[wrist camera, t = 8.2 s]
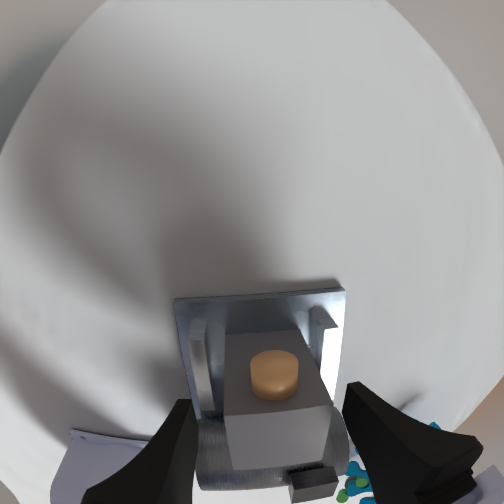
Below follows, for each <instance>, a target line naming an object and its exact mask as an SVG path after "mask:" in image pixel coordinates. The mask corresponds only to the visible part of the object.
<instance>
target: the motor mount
mask: <svg viewBox="0 0 504 504" xmlns="http://www.w3.org/2000/svg"><path fill="white" fill-rule="evenodd" d="M345 298H346V290H345V289H344V288H343V287H337V288H327V289H317V290H306V291H294V292H281V293H268V294H254V295H239V296H222V297H202V298H179V299H175V301H174V303H173V304H174V311H175V317H176V323H177V329H178V334H179V340H180V345H181V351H182V356H183V361H184V366H185V371H186V375H187V380H188V385H189V389H190V394H191V398H192V402H193V406H194V410H195V414H196V418H197V423H198V427H199V438H198V451H197V458H196V465H195V471H196V477H197V481H198V484H199V487H200V489H201V490H203V491H229V490H251V489H264V488H274V487H282V486H289V487H288V489H289V494H290V499H291V504H293V503H299V502H305V501H311V500H316V499H321V498H326V497H330V496H333V494H334V492H335V490H336V487H337V485H338V482H339V480H338V477H337V476H342V475H344V474H345V473H346V471H347V469H348V465H349V441H348V435H347V431H346V427H345V424H344V421H343V418H342V416H341V414H340V412H339V411H338V409H337V408H336V407H334V406H333V410H332V415H331V420H330V425H329V430H328V435H327V439H326V444H325V448H324V452H323V457H322V460H319V461H314V462H308V463H302V464H296V465H289V466H281V467H272V468H262V469H249V470H233V466H232V461H231V456H230V450H229V445H228V439H227V433H226V427H225V421H224V355H225V335H227V334H244V333H258V332H271V331H282V330H292V329H300V330H301V332H302V335H303V337H304V339H305V341H306V343H307V346H308V348H309V350H310V352H311V354H312V357H313V359H314V361H315V363H316V365H317V368H318V370H319V372H320V374H321V377H322V379H323V381H324V383H325V385H326V388H327V390H328V392H329V394H330V397H331V399H332V401H333V397H334V391H335V384H336V378H337V371H338V364H339V356H340V348H341V340H342V331H343V321H344V310H345Z"/></svg>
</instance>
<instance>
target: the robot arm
mask: <svg viewBox="0 0 504 504" xmlns="http://www.w3.org/2000/svg"><path fill="white" fill-rule="evenodd" d="M342 415H343V419H344V422H345V425H346V428H347V430H348V433H349V435H350V437H351V439H352V441H353V443H354V445H355V447H356V449H357V451H358V453H359V455H360V457H361V459H362V461H363V464H364V466H365V468H366V471H367V474H368V477H369V480H370V484H371V487H372V491H373V494H374V498H375V502H376V504H504V477H503V475H502V474H501V473H500V471H499V470H498V469H497V467H496V466H495V465H491V466H490V467H489V468H487V469H486V470H484V471H483V472H482V473H480V474H479V475H478V476H476V477H475V478H474V479H473V477H472V476H471V475H472V474H473V470H472V469H471V467H472V466H473V464H474V463H475V462H476V461H477V459H478V458H479V457H480V455H481V454H482V451H483V446H482V445H481V443H480V442H479V441H478V440H477V439H476V437H475V436H470V435H463V434H457V433H452V432H448V431H444V430H441V429H437V428H435V427H432V426H429V425H426V424H424V423H422V422H419V421H417V420H415V419H413V418H411V417H409V416H407V415H406V414H404V413H402V412H401V411H399V410H397V409H396V408H394V407H393V406H391V405H390V404H388V403H387V402H386V401H384V400H383V399H381V398H380V397H379V396H377V395H376V394H375V393H374V392H372V391H371V390H370V389H368V388H367V387H366V386H365V385H363V384H362V383H361V382H359V381H358V382H353V383H348V384H347V388H346V394H345V399H344V404H343V409H342ZM69 434H70V436H71V437H72V441H71V443H70V445H69V447H68V449H67V451H66V453H65V456H64V458H63V460H62V462H61V464H60V466H59V469H58V471H57V473H56V475H55V478H54V480H53V482H52V485H51V490H50V502H51V504H192V487H193V478H194V472H195V465H196V458H197V451H198V438H199V427H198V423H197V419H196V415H195V411H194V407H193V403H192V399H178V400H177V401H176V403H175V405H174V407H173V408H172V410H171V412H170V413H169V415H168V417H167V418H166V420H165V421H164V423H163V424H162V426H161V427H160V428H159V430H158V431H157V433H156V434H155V435H154V436H153V438H152V439H151V440H150V441H149V442H148V441H138V440H130V439H122V438H115V437H109V436H103V435H98V434H92V433H87V432H83V431H78V430H74V429H71V430H70V432H69Z"/></svg>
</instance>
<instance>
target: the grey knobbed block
mask: <svg viewBox="0 0 504 504" xmlns="http://www.w3.org/2000/svg"><path fill="white" fill-rule="evenodd" d="M333 404H334V403H333V401H332V399H331V397H330V394H329V392H328V390H327V388H326V385H325V383H324V381H323V379H322V377H321V374H320V372H319V370H318V368H317V365H316V363H315V361H314V359H313V357H312V354H311V352H310V350H309V348H308V346H307V343H306V341H305V339H304V337H303V335H302V332H301V330H300V329H292V330H282V331H271V332H258V333H244V334H227V335H225V355H224V421H225V427H226V433H227V439H228V445H229V450H230V456H231V461H232V466H233V470H249V469H262V468H272V467H281V466H289V465H296V464H302V463H308V462H314V461H319V460H322V457H323V452H324V448H325V444H326V439H327V435H328V430H329V425H330V420H331V415H332V410H333Z"/></svg>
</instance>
